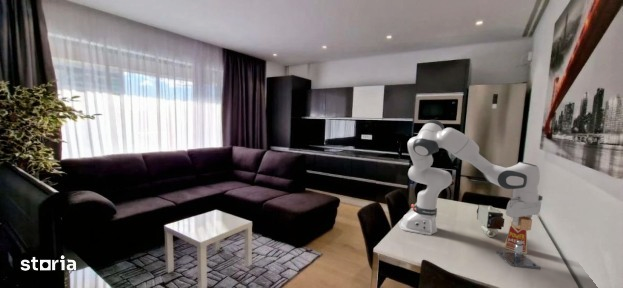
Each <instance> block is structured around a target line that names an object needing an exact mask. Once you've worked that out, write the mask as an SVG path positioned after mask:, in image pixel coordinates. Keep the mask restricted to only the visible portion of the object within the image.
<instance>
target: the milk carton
mask: <svg viewBox="0 0 623 288" xmlns="http://www.w3.org/2000/svg"><path fill="white" fill-rule="evenodd" d="M510 218H511V219H510V226H509V229H508V234H507V236H506V239H505V242H504V247H503V248H504V249H506V250H509V251H510V252H511V251H512V252H514V248H515V244H516V243H517V240H520V241H522V244H521V245H523V250H522V254H524V255H527V254H528V235H527V234H528V233H527V230H521V229H518V228H515V227H513V226H512V220H513V219H512V217H510Z"/></svg>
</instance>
